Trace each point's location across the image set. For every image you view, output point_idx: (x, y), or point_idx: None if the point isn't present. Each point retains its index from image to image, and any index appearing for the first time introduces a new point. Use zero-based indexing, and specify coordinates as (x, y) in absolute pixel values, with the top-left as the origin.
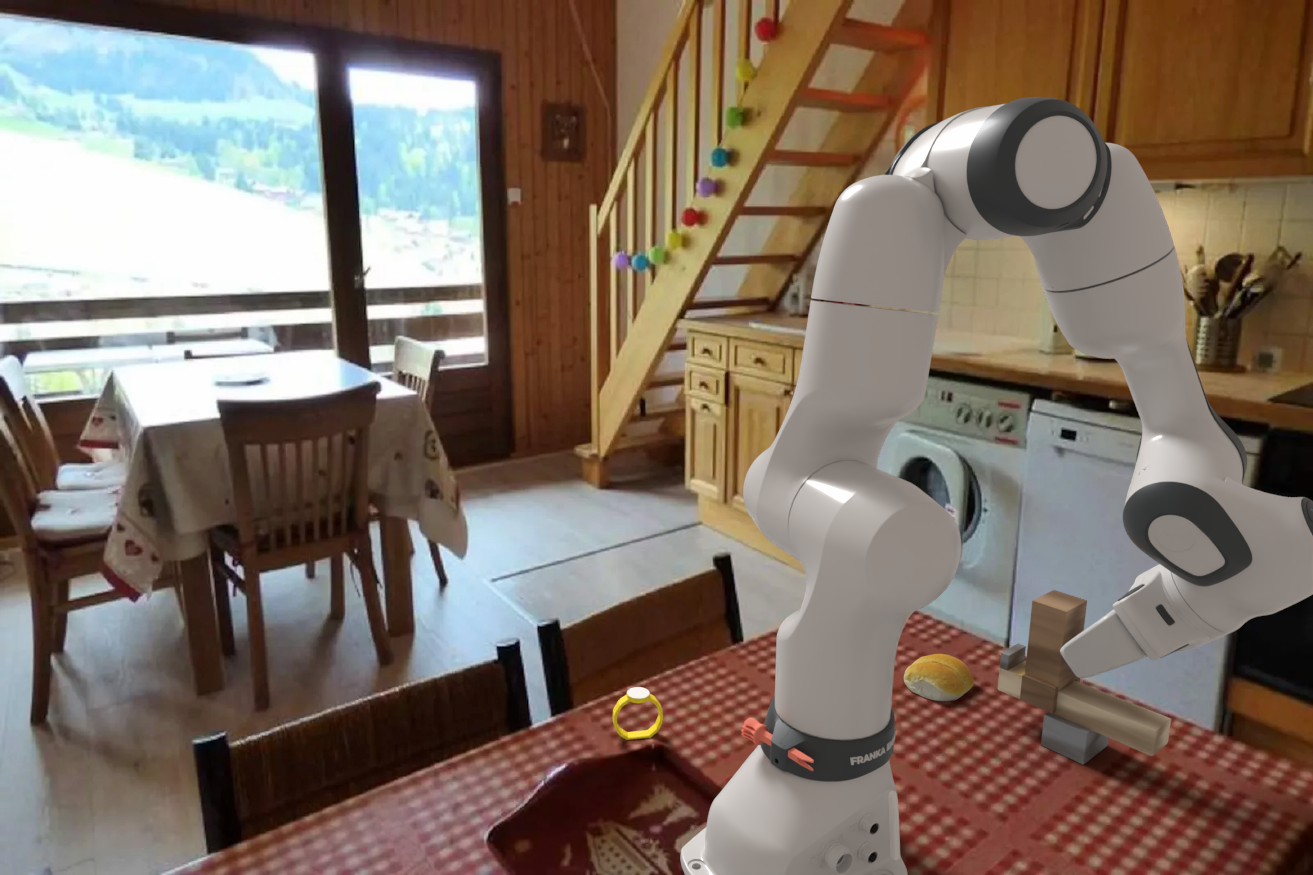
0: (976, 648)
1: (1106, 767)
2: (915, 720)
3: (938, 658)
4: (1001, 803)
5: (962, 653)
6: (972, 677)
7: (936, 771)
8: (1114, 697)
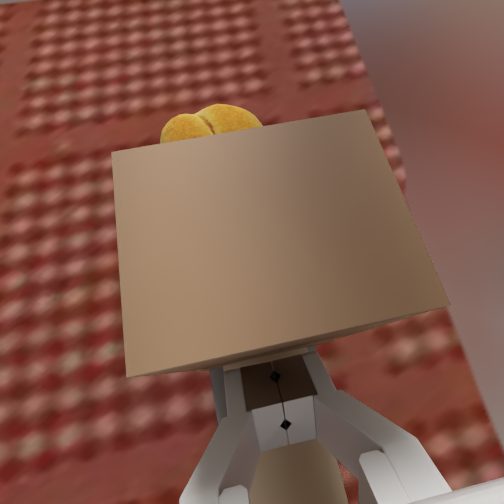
0: (355, 110)
1: None
2: (103, 212)
3: (219, 121)
4: (6, 449)
5: (323, 111)
6: None
7: (5, 328)
8: (331, 460)
